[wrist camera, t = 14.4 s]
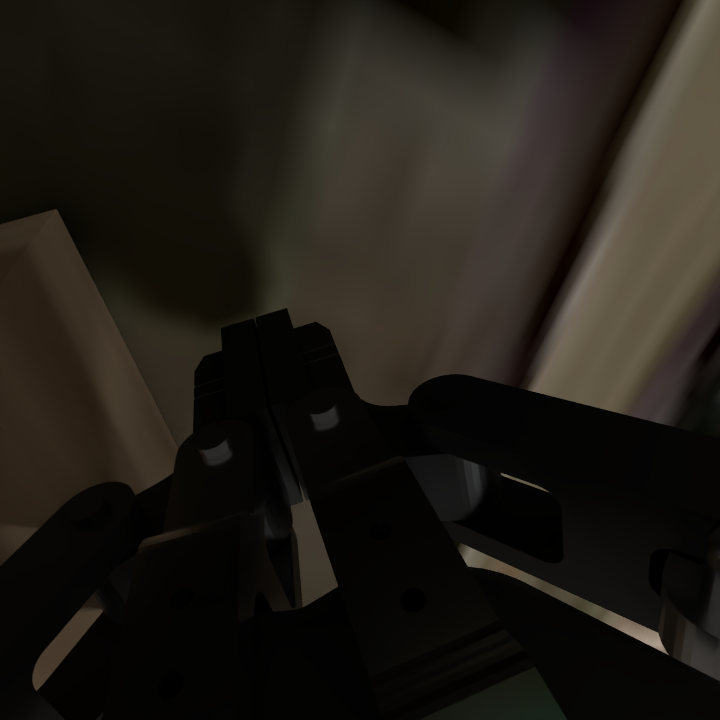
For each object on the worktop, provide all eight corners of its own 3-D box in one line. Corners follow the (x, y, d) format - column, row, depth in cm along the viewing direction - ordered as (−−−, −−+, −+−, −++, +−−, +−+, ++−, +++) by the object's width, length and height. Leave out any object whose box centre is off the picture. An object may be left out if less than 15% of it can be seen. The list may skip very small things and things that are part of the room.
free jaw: (75, 525, 16) (15, 761, 11) (-114, 256, 12) (-358, 440, 7) (197, 486, 16) (194, 699, 11) (56, 209, 12) (-53, 350, 7)
